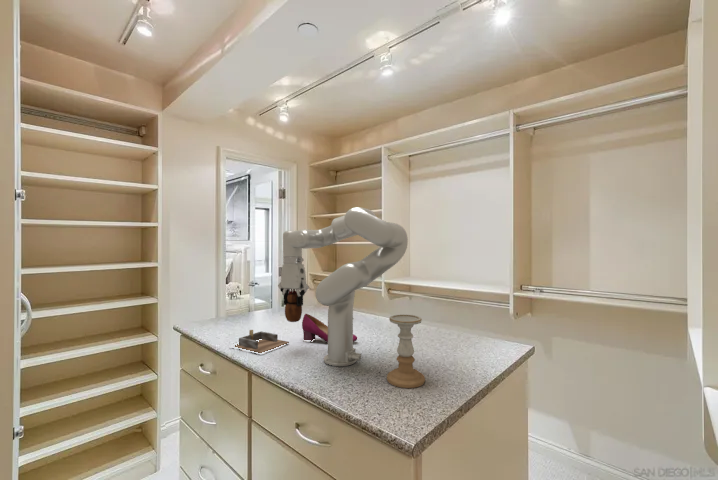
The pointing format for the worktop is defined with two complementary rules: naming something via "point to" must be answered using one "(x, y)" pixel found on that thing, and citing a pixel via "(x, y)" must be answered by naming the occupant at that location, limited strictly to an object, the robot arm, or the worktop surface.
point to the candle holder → (405, 354)
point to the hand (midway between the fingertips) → (293, 304)
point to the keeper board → (260, 341)
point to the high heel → (315, 329)
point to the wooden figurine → (292, 307)
